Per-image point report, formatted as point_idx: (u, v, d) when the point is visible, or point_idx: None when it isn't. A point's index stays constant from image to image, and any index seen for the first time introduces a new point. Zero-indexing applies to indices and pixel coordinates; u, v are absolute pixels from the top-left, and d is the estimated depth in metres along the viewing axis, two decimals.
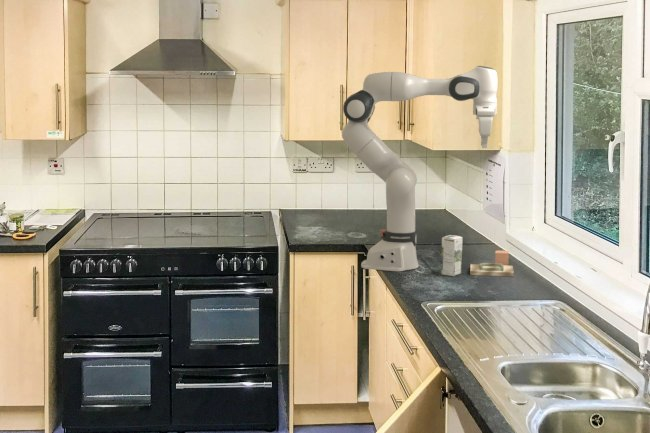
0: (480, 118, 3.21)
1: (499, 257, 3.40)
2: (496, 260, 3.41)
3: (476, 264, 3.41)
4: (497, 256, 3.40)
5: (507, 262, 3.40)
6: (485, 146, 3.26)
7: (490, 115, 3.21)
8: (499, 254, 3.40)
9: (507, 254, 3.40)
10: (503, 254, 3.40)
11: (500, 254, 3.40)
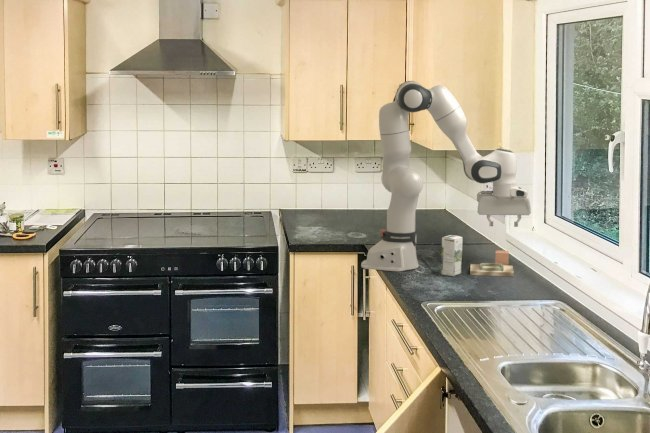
0: (528, 198, 3.35)
1: (499, 257, 3.40)
2: (496, 260, 3.41)
3: (476, 264, 3.41)
4: (497, 256, 3.40)
5: (507, 262, 3.40)
6: None
7: None
8: (499, 254, 3.40)
9: (507, 254, 3.40)
10: (503, 254, 3.40)
11: (500, 254, 3.40)
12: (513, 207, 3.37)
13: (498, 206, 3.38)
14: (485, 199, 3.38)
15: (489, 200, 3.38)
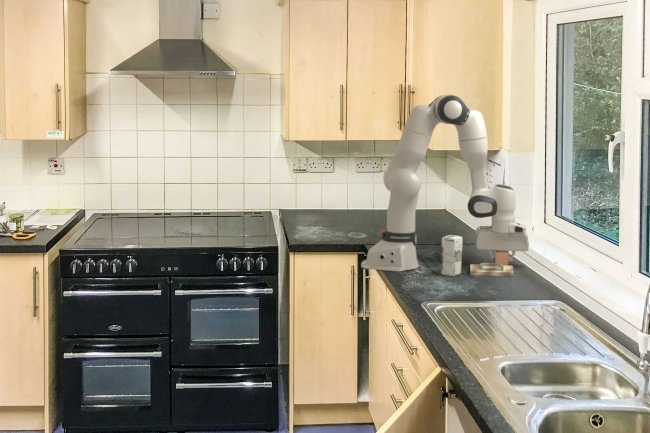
0: (526, 234, 3.38)
1: (499, 257, 3.40)
2: (496, 260, 3.41)
3: (476, 264, 3.41)
4: (497, 256, 3.40)
5: (507, 262, 3.40)
6: None
7: None
8: (499, 254, 3.40)
9: (507, 254, 3.40)
10: (503, 254, 3.40)
11: (500, 254, 3.40)
12: (511, 243, 3.39)
13: (497, 241, 3.40)
14: (484, 234, 3.41)
15: (487, 236, 3.41)
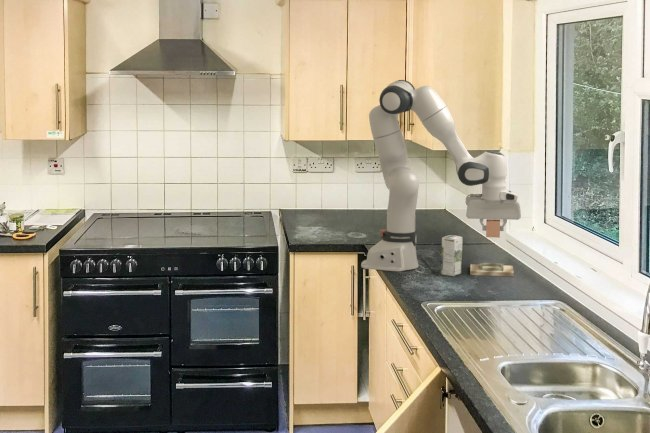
0: None
1: (490, 226, 3.29)
2: (487, 229, 3.29)
3: (476, 264, 3.41)
4: (488, 225, 3.29)
5: (498, 231, 3.29)
6: (503, 228, 3.31)
7: None
8: (490, 222, 3.29)
9: (498, 222, 3.28)
10: (494, 222, 3.29)
11: (491, 222, 3.29)
12: (503, 211, 3.28)
13: (488, 210, 3.29)
14: (474, 203, 3.29)
15: (478, 204, 3.29)
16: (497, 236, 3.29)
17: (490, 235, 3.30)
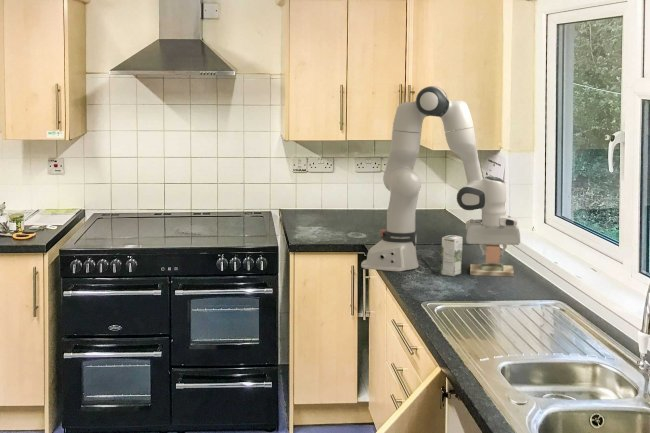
0: (518, 228, 3.28)
1: (490, 251, 3.31)
2: (487, 254, 3.31)
3: (476, 264, 3.41)
4: (488, 250, 3.31)
5: (498, 256, 3.31)
6: None
7: None
8: (490, 248, 3.31)
9: (498, 248, 3.30)
10: (494, 248, 3.30)
11: (491, 248, 3.31)
12: (502, 236, 3.30)
13: (487, 235, 3.31)
14: (474, 228, 3.31)
15: (477, 229, 3.31)
16: (497, 261, 3.31)
17: (490, 260, 3.31)
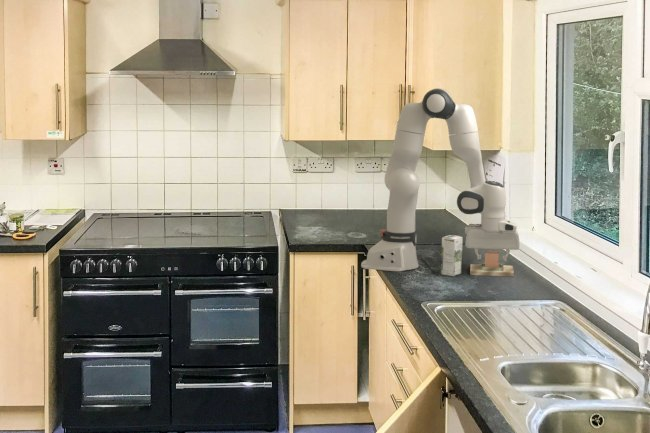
0: (517, 232, 3.28)
1: (489, 258, 3.31)
2: (486, 261, 3.32)
3: (476, 264, 3.41)
4: (487, 257, 3.31)
5: (497, 263, 3.31)
6: None
7: None
8: (489, 255, 3.31)
9: (497, 255, 3.30)
10: (493, 255, 3.31)
11: (490, 255, 3.31)
12: (502, 241, 3.30)
13: (487, 240, 3.31)
14: (473, 233, 3.31)
15: (477, 234, 3.31)
16: None
17: (489, 267, 3.32)
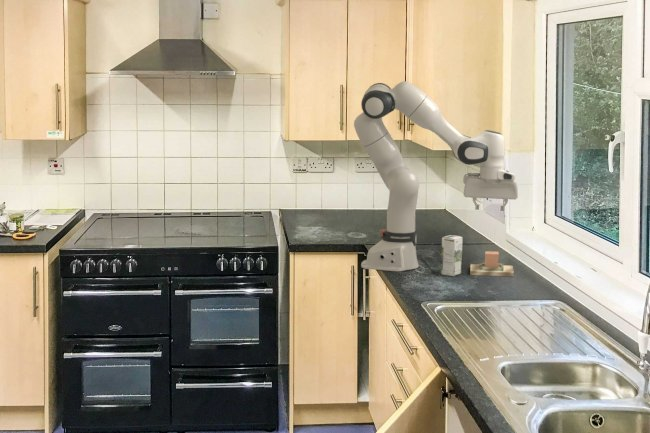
0: (515, 182, 3.28)
1: (489, 258, 3.31)
2: (486, 261, 3.32)
3: (476, 264, 3.41)
4: (487, 257, 3.31)
5: (497, 263, 3.31)
6: (504, 208, 3.33)
7: None
8: (489, 255, 3.31)
9: (497, 255, 3.30)
10: (493, 255, 3.31)
11: (490, 255, 3.31)
12: (500, 191, 3.30)
13: (485, 189, 3.31)
14: (472, 182, 3.31)
15: (475, 183, 3.31)
16: None
17: (489, 267, 3.32)
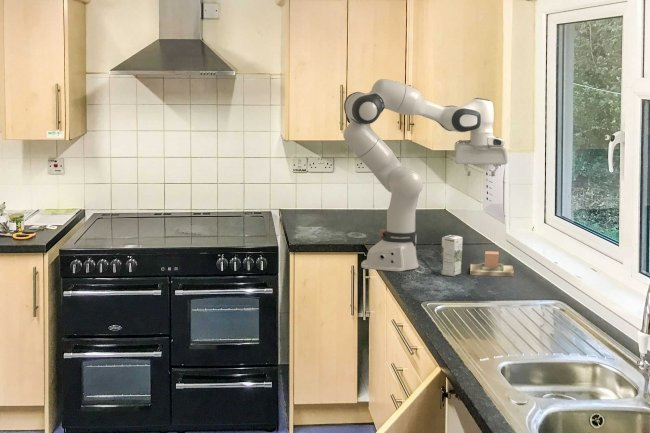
0: (505, 147, 3.38)
1: (489, 258, 3.31)
2: (486, 261, 3.32)
3: (476, 264, 3.41)
4: (487, 257, 3.31)
5: (497, 263, 3.31)
6: None
7: None
8: (489, 255, 3.31)
9: (497, 255, 3.30)
10: (493, 255, 3.31)
11: (490, 255, 3.31)
12: (490, 156, 3.39)
13: (476, 155, 3.40)
14: (463, 148, 3.41)
15: (466, 150, 3.41)
16: None
17: (489, 267, 3.32)
